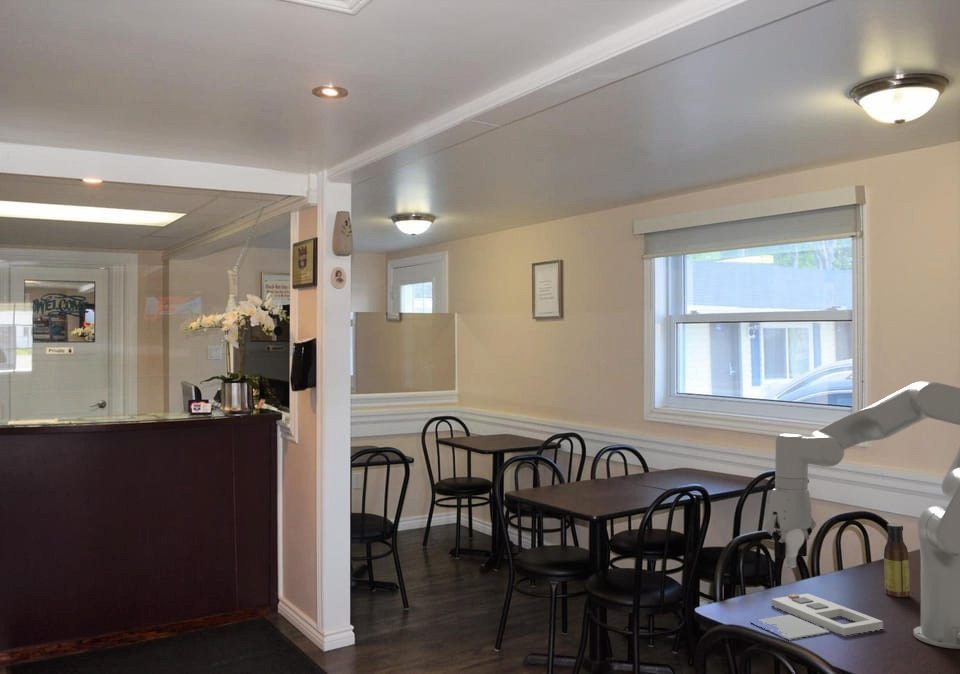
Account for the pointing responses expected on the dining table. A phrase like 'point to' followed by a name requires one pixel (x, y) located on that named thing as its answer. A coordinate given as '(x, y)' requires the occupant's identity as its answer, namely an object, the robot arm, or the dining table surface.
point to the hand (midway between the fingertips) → (790, 555)
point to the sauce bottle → (896, 563)
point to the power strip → (826, 613)
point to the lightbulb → (793, 546)
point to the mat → (794, 626)
